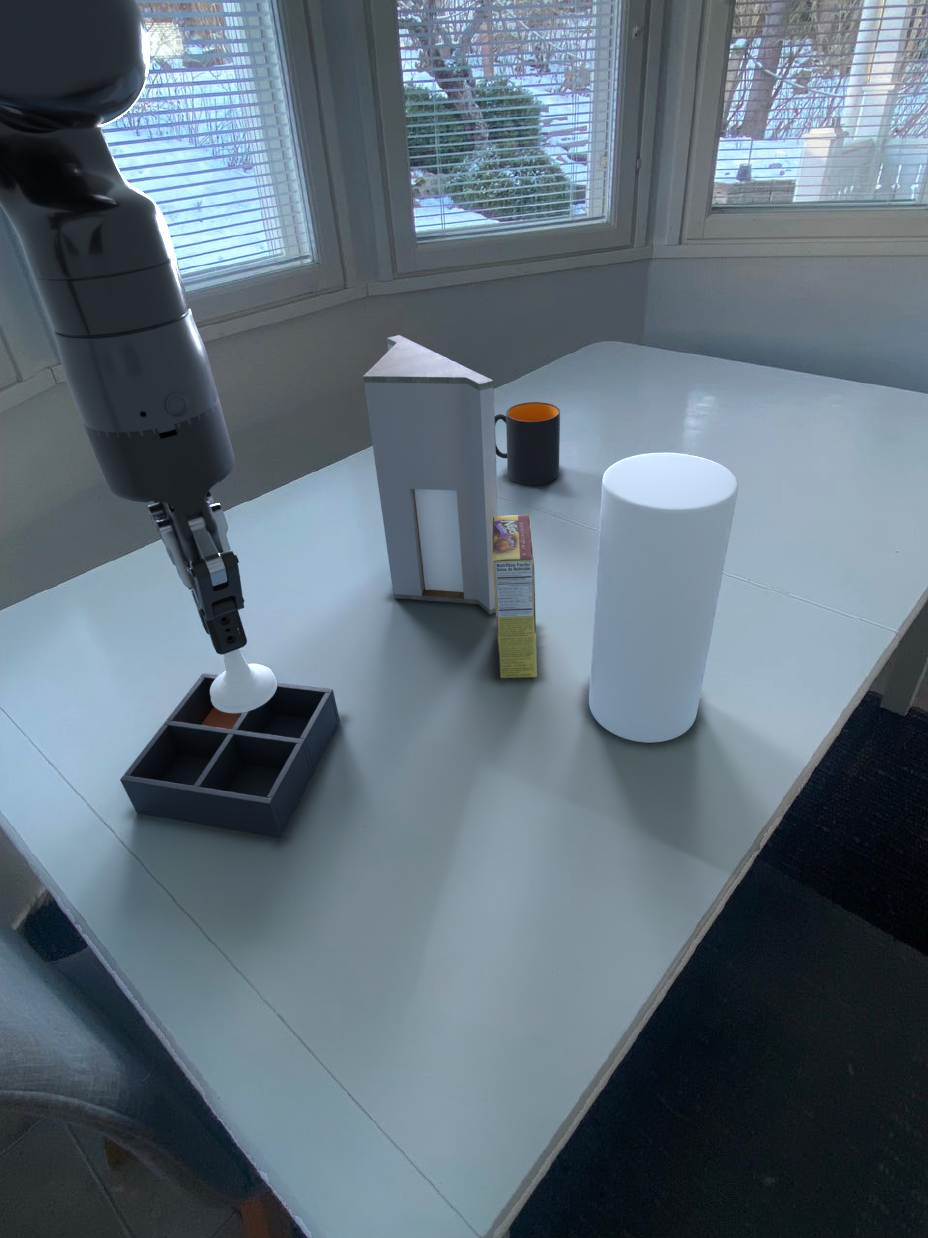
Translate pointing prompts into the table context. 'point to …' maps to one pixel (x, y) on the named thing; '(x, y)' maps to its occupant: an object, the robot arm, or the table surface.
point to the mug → (532, 442)
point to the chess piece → (242, 685)
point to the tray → (234, 759)
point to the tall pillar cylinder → (657, 590)
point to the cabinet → (434, 473)
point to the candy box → (514, 596)
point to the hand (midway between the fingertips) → (226, 637)
